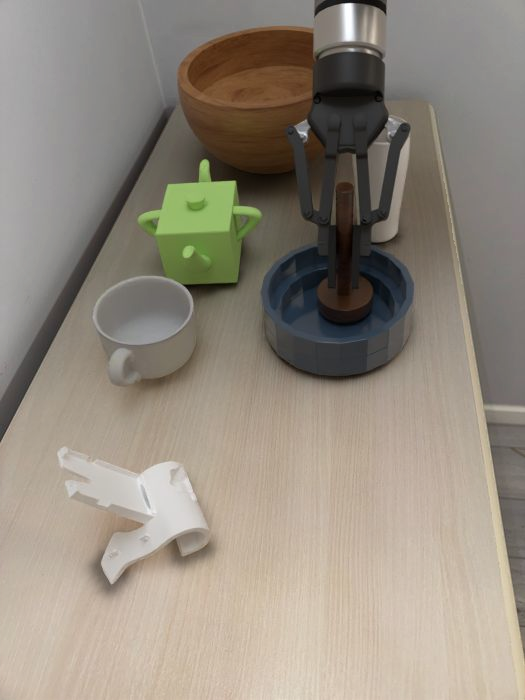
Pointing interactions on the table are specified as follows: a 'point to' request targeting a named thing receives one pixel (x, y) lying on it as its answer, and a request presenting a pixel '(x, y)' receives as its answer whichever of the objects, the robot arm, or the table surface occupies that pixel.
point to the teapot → (201, 230)
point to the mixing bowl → (329, 336)
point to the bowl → (251, 96)
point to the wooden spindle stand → (344, 268)
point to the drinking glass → (376, 175)
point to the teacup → (145, 328)
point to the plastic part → (139, 507)
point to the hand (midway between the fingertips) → (343, 287)
